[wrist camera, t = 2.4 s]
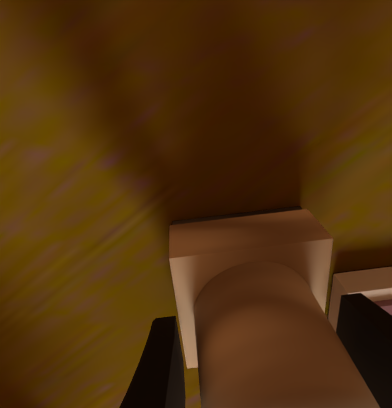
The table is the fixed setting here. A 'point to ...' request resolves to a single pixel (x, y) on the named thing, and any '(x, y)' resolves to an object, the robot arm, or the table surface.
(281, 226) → the stamp
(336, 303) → the ink pad
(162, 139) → the table surface
